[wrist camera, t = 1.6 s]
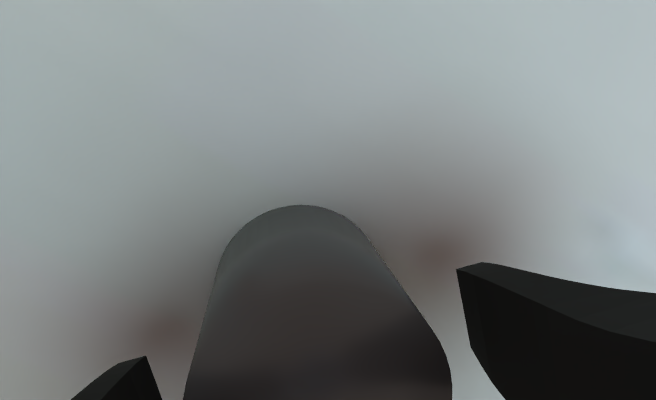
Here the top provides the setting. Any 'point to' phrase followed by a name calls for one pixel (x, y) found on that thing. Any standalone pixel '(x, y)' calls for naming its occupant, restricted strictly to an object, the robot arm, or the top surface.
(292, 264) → the dark gray cylinder
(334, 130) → the top surface
